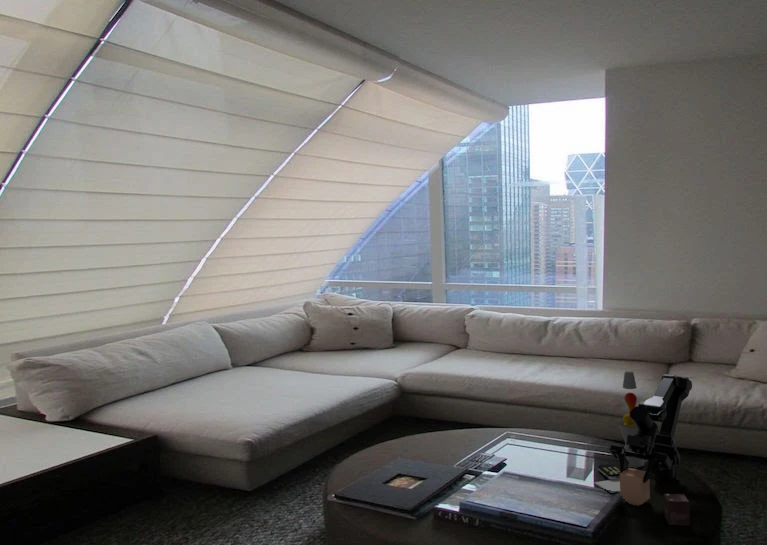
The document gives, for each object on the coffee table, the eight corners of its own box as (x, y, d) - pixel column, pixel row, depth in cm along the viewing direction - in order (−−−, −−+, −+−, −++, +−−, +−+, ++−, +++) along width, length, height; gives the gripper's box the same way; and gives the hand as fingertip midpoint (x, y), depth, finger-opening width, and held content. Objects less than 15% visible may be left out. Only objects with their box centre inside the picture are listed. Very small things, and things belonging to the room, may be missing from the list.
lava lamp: (629, 457, 254) (626, 367, 252) (650, 463, 246) (647, 371, 245) (614, 462, 249) (611, 371, 248) (634, 469, 242) (631, 374, 240)
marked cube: (632, 500, 214) (632, 488, 214) (643, 502, 212) (642, 491, 212) (627, 503, 212) (627, 492, 212) (638, 506, 209) (638, 494, 209)
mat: (619, 479, 232) (619, 478, 232) (637, 489, 222) (637, 488, 222) (594, 483, 229) (594, 482, 229) (611, 494, 220) (611, 492, 220)
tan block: (629, 493, 216) (628, 467, 216) (650, 497, 212) (649, 471, 211) (620, 499, 212) (619, 473, 211) (641, 504, 207) (640, 478, 206)
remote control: (613, 468, 243) (613, 463, 243) (627, 479, 230) (626, 473, 230) (596, 469, 243) (596, 464, 243) (609, 480, 230) (609, 474, 230)
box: (690, 526, 193) (689, 501, 193) (668, 525, 195) (667, 501, 194) (685, 517, 199) (684, 493, 199) (664, 516, 201) (663, 493, 200)
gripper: (610, 420, 220) (596, 461, 212) (667, 429, 207) (654, 473, 200) (621, 437, 226) (608, 478, 219) (677, 447, 213) (665, 491, 206)
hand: (632, 479), depth 210 cm, fingers closed on tan block, 7 cm apart
